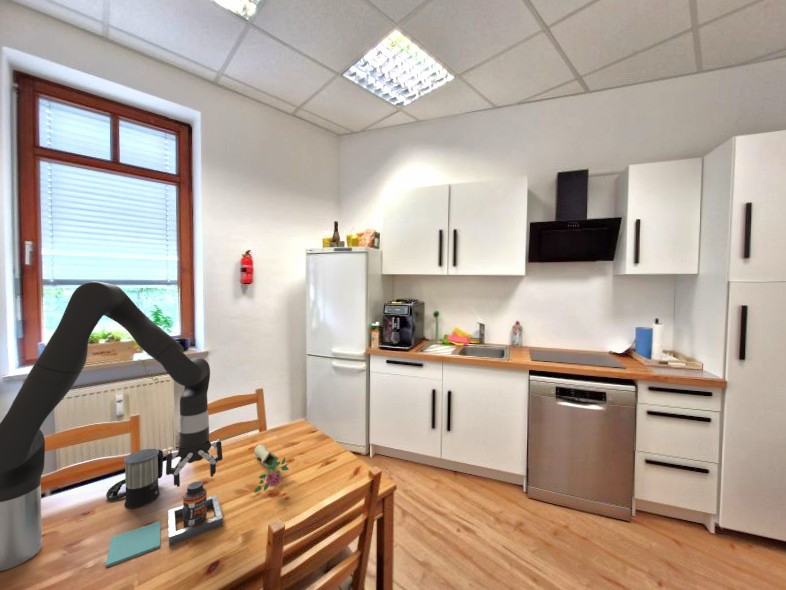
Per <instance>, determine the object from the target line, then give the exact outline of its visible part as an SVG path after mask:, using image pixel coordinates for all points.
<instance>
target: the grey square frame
mask: <svg viewBox="0 0 786 590" xmlns="http://www.w3.org/2000/svg"><path fill="white" fill-rule="evenodd" d="M206 507H207V509H208V508H209V509H210V508H212V511H213V516H214V517H212V518H209V519H206V520H205V521H203V522H201V523H198V524H195V525H192V526H189V527H187V528H185V527H184V528H181V529H179V530H176V520H177V519H180V518H183V505H180V506H177V507H174V508H171V509H168V512H167V513H168V547H171V546H174V545H176V544H179V543H182V542H185V541H187V540H190V539H192V538H195V537H197V536H200V535H204V534H206V533H209V532H211V531H213V530H217V529H218V528H221V527H223V526H224V525H223V524H224V522H223V521H224V519H223V513H222V510H221V506H220V502H219V498H218V495H217V494H215V495H212V496H208V497H207V506H206Z"/></svg>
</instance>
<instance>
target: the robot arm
mask: <svg viewBox="0 0 786 590" xmlns="http://www.w3.org/2000/svg"><path fill="white" fill-rule="evenodd" d="M103 316H104V317H107V318H109V319H111V320H112V321H114V322H116V323H117V324H118V325H120V326H121V327H122V328H124V329H125V331H127V332H128V334H129V335H130V336H131V337H132V338H133V340H134V341H135V343H136V344H137V345H138V346H139V347H140V348H141V349H142V350H143V351H144V352H145V353H146V354H147V355H149V356H150V357H151V358H153V359H154V360H155V361H157V362H158V363H159V364H160V365H161V366H162V367H163V369H164V370H165V371H166V372H167V374H168V375H169V376H170V378H171V379H172V380H173V381H174V382H175V383H177V384H179V385H181V386H184V387H183V388H184V389H183V393H182V394H181V396H179V397H180V398H179V419H178V431H179V433H178V434H179V448H178V450H167V451H166V459H165V463H166V464H165V475H166V476H170V475H172V476H173V485H174V487H176V488H178V487H180V486H181V483H180V482H181V480H180V478H181V477H180V472H181V471H182V469H183V468H184V467H185V466H186V464H188V463H189V464H192V463H194V462H199V461H202V460H203V459H204V460H206V462H209V476H210V477H211V478H212V477H214V475H215V474H216V472H217V466H216V465H217V462H219V461H222V460H223V449H222V448H223V447H222V441H221V439H220V438H217V439H216V440H214V441H210V416H209V410H208V408H209V406H208V391H209V386H210V385H209V384H210V378H211V367H210V364H209V362H208V361H207V360H206V359H204V358H202V357H194V358H191V359H190V358H189V356H187V355H186V354H185V353H184V350H185V349H184V346H183V345H182V344H181V343H179V341H177V340H176V339H174V338H173V336H171V335H169V334H168V333H167V332H166V331H164V329H162V328H161V327H160V326H158V325H157V324H156V323H155V322H154V321H153V320H152V319H150V318H149V317H148V316H147V315H146V314H145V313H144V312H143V311H142V310H141V309H140V308H139V307H138V306H137V305H136V304H135V302H134V301H133V300H132V299H131V298H130V297H129V296H128V295H127V294H126V292H125V291H124V290H123V289H122V288H120V287H119V286H118V285H116V284H112V283H109V282H101V281H88V282H87V281H86V282H85V283H83V284H80V285H79V286H78V287H77V288H76V289H75V290H74V291H73V293H72V295H71V296H70V299H69V301H68V303H67V305H66V307H65V310H64V312H63V314H62V317H61V318H60V321H59V323H58V325H57V327H56V329H55V330H54V332H53V334H52V335H51V337H50V338H49V340H48V341H47V343H46V345H45V347H44V348H43V350H42V352H41V354H40V355H39V357H38V358H37V360H36V361H35V362H34V364H33V366H32V367H31V369H30V371H29V373H28V374H27V376H26V378H25V380H24V381H23V384H22V385H21V387H20V389H19V390H18V392H17V394H16V396H15V398H14V399H13V401H12V403H11V405H10V407H9V409H8V411H7V413H6V414H5V415H4V417H3V419H2V420H1V422H0V572H1V571H6V570H8V569H12V568H14V567H17V566H19V565H21V564H23V563H25V562H27V561H29V560H30V559H31V558H34V557H35V556H36V555H37V554H38V553H39V552H40V551H41V549H42V547H43V536H42V535H43V533H42V531H43V528H42V521H43V520H42V483H41V482H42V475H43V472H44V470H45V458H46V457H45V455H46V449H45V448H46V440H45V436H44V433H43V431H42V430H41V427H42V425H43V424H44V422H45V420H46V419H47V417H48V416H49V415H50V414H51V413H52V411H54V409H55V408H56V407H57V406H58V405H59V404H60V403H61V401H62V400H63V399H64V398H65V397H66V395H68V393H69V391H70V390H71V389H72V388H73V386H74V384H75V383H76V382H77V379H78V378H79V376H80V375H81V373H82V371H83V369H84V367H85V365H86V361H87V358H88V349H89V341H90V337H91V335H92V333H93V331H94V330H95V328H96V327H97V325H98V323H99V321H100V320H101V319H102V318H103ZM212 447H213V449H216V455H215V456H213V454H211V452H210V449H211V448H212ZM177 456H178V457H179V458H180V459H179V460H178V462H177V464H176V465H175V467H172V465H173V464H172V462H173V460H175V459H176V457H177Z"/></svg>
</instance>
